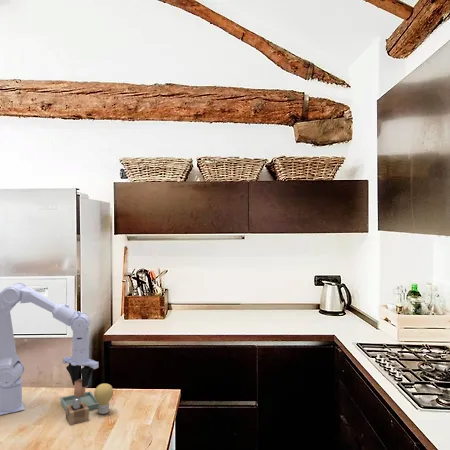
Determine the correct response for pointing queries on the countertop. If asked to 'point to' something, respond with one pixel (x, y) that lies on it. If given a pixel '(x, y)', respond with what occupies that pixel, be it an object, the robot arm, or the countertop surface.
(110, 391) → the light bulb
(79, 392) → the terracotta round
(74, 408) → the cylinder
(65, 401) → the tray
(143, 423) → the countertop surface
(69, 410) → the walnut block
